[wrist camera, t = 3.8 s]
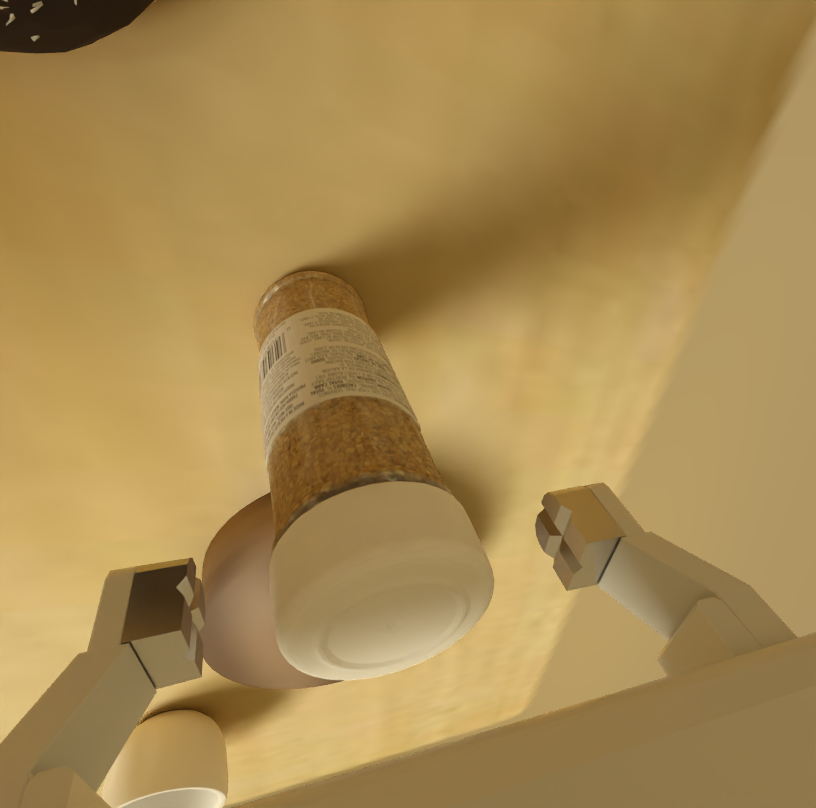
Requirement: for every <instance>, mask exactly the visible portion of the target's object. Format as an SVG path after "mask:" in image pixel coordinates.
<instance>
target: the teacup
mask: <svg viewBox="0 0 816 808" xmlns="http://www.w3.org/2000/svg"><path fill="white" fill-rule="evenodd" d="M227 793H228V769H227V755H226V746H225V741H224V738H223V735H222V733H221V730H220V729H219V727H218V725H217V724H216V723H215V722H214V721H213V720H212V719H211V718H210V717H208V716H207V715H204V714H202V713H201V712H198V711H195V710H174V711H168V712H164V713H161V714H158V715H155V716H153V717H151V718H149V719H147V720H145V721H144V722H143V723H142V724H140V725H139V726H137V727H136V728H135V729H134V730H133V732H132V733H131V735H130V737H129V738H128V740H127V742H126V743H125V745H124V747H123V748H122V750H121V752H120V753H119V755H118V757H117V758H116V760H115V762H114V763H113V765H112V767H111V768H110V770H109V772H108V773H107V776H106V780H105V784H104V788H103V792H102V797H101V798H102V799H103V800H104V801H105V802H106V803H107V804H108V805H109V806H110V807H111V808H222V807H223V806H224V804H225V802H226V798H227Z"/></svg>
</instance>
